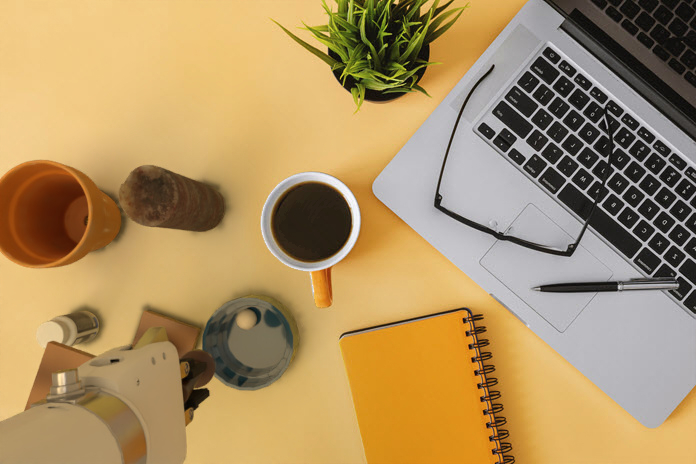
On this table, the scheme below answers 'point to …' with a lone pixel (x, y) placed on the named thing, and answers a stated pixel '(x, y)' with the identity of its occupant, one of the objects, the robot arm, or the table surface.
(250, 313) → the ball
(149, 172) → the brown textured cylinder
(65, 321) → the pill bottle
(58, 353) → the stand
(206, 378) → the stick
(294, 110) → the table surface
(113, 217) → the flower pot
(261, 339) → the bowl
